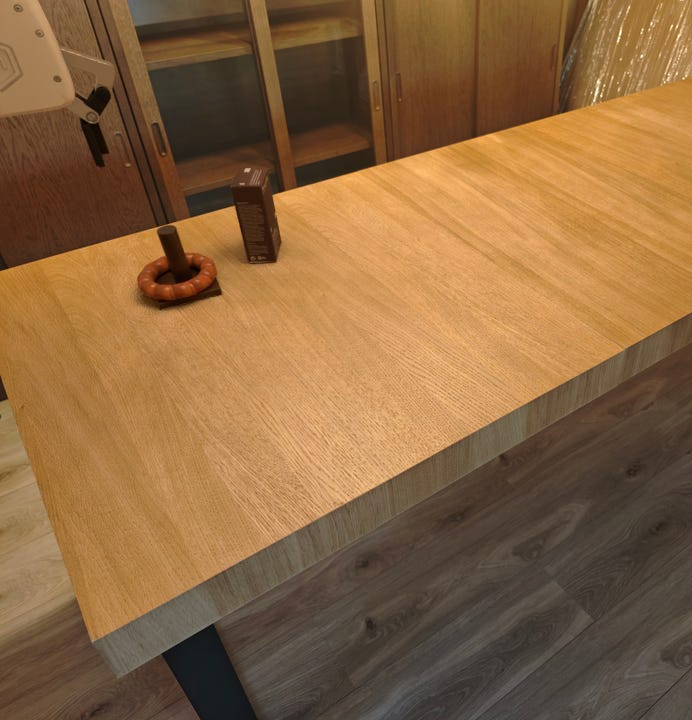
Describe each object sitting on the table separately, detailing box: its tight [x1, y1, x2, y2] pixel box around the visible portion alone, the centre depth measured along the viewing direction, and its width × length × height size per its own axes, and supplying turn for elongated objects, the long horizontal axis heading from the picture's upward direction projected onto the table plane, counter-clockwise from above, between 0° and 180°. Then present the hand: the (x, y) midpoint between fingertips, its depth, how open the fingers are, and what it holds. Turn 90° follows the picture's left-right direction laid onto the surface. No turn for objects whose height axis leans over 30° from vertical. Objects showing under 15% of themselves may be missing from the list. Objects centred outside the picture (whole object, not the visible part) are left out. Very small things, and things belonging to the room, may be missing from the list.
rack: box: [154, 224, 223, 311], centre depth 86 cm, size 8×8×9 cm
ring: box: [136, 252, 218, 301], centre depth 88 cm, size 10×10×2 cm
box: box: [230, 167, 283, 264], centre depth 92 cm, size 6×4×12 cm
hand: (43, 171), depth 59 cm, fingers open, 9 cm apart
